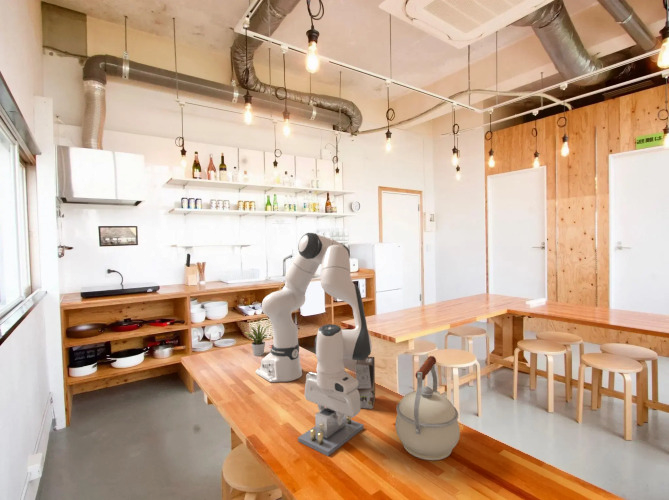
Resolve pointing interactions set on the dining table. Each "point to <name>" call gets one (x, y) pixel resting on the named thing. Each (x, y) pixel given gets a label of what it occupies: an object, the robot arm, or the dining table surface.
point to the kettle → (427, 419)
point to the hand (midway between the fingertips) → (331, 420)
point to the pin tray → (330, 437)
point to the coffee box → (366, 382)
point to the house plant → (258, 341)
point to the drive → (328, 422)
